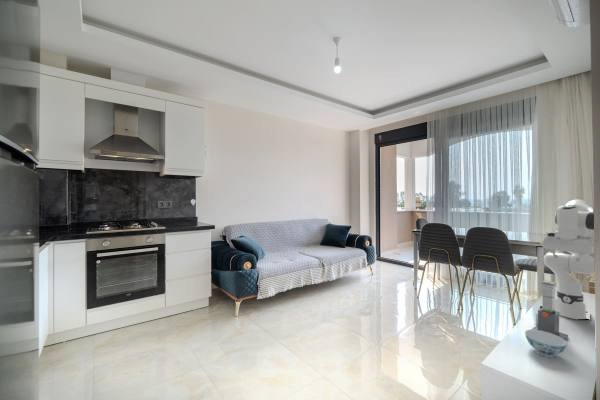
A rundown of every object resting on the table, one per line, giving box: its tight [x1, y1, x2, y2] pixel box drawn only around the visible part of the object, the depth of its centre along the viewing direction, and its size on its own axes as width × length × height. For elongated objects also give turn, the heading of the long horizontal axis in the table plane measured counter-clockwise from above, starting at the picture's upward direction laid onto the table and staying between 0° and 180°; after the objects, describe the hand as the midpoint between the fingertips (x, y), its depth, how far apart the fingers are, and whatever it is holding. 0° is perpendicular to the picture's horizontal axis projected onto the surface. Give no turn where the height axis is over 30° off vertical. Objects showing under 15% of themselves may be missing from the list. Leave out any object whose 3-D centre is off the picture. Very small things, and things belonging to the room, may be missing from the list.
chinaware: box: [524, 329, 568, 358], centre depth 131 cm, size 15×15×8 cm
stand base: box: [530, 308, 569, 341], centre depth 147 cm, size 13×13×14 cm
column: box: [541, 280, 557, 314], centre depth 147 cm, size 5×5×22 cm
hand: (566, 259), depth 150 cm, fingers open, 8 cm apart
